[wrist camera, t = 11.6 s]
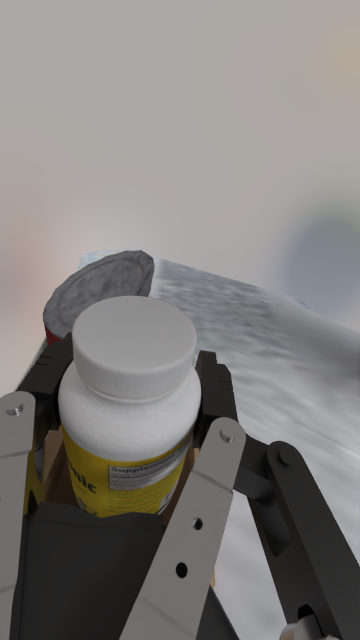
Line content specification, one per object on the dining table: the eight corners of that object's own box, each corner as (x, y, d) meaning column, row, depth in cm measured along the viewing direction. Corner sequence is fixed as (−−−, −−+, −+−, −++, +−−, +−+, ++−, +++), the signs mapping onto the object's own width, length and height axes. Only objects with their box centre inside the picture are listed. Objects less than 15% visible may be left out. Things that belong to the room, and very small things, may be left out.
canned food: (135, 397, 26) (136, 371, 18) (37, 367, 26) (-13, 325, 17) (167, 303, 32) (180, 246, 23) (85, 277, 31) (66, 209, 23)
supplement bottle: (71, 437, 15) (50, 286, 10) (161, 419, 17) (187, 283, 12) (73, 554, 11) (40, 408, 6) (191, 513, 13) (252, 374, 8)
